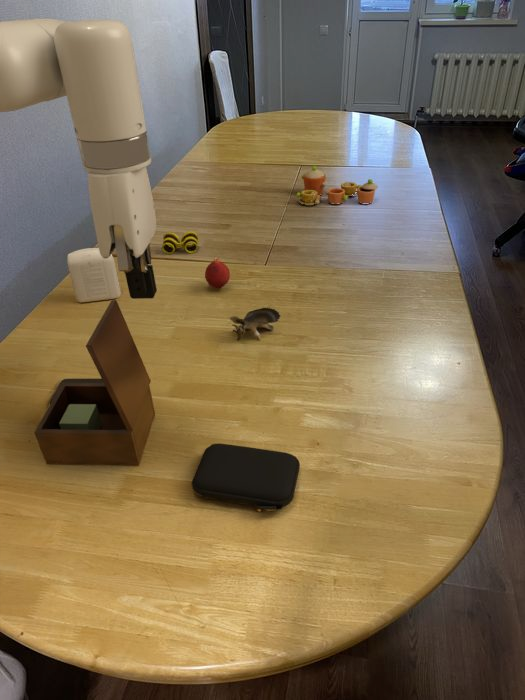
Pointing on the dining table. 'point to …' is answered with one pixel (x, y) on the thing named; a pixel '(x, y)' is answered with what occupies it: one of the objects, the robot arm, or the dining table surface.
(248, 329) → the brown animal figure
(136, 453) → the keepsake box
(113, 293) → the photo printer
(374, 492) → the dining table surface
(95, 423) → the block
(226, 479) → the carrying case
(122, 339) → the lid
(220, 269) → the onion
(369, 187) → the toy tea set
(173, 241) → the opera glasses
